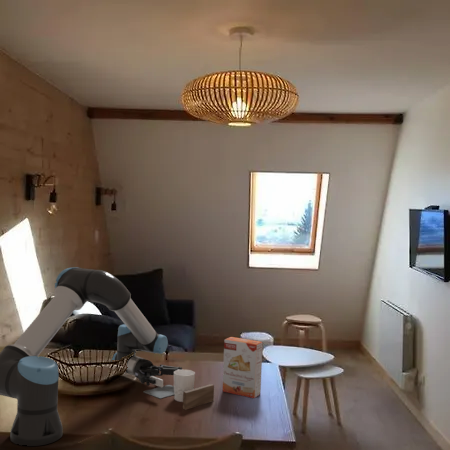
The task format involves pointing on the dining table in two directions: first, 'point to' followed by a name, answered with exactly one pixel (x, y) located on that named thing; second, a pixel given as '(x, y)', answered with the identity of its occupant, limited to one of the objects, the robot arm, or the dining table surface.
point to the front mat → (161, 391)
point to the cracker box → (242, 367)
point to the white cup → (183, 383)
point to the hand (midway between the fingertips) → (176, 380)
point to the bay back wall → (198, 396)
